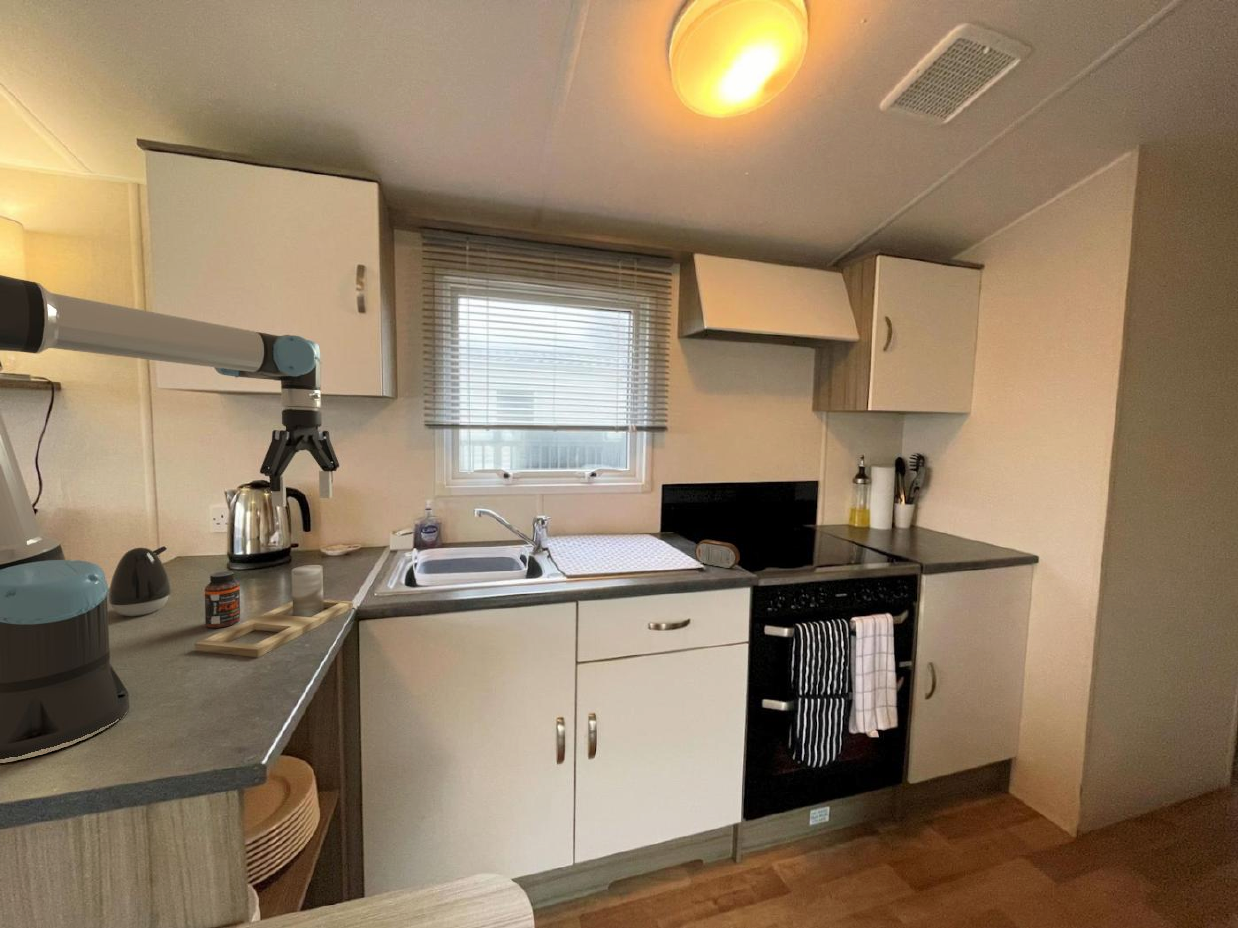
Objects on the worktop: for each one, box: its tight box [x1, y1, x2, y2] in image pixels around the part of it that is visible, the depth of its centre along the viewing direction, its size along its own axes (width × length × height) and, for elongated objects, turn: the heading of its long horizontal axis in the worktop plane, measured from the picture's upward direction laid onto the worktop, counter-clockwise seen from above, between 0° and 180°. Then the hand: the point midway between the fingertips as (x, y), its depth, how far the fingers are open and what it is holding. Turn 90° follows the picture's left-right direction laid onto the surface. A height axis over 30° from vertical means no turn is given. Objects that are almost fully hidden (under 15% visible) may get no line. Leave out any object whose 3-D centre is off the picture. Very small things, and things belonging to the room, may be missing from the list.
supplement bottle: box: [204, 570, 241, 629], centre depth 105 cm, size 6×6×11 cm
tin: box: [694, 539, 741, 568], centre depth 160 cm, size 15×3×8 cm, turn 58°
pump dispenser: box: [108, 546, 172, 617], centre depth 111 cm, size 10×10×15 cm
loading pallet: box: [194, 564, 354, 658], centre depth 104 cm, size 26×14×11 cm, turn 172°
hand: (303, 502), depth 110 cm, fingers open, 13 cm apart
